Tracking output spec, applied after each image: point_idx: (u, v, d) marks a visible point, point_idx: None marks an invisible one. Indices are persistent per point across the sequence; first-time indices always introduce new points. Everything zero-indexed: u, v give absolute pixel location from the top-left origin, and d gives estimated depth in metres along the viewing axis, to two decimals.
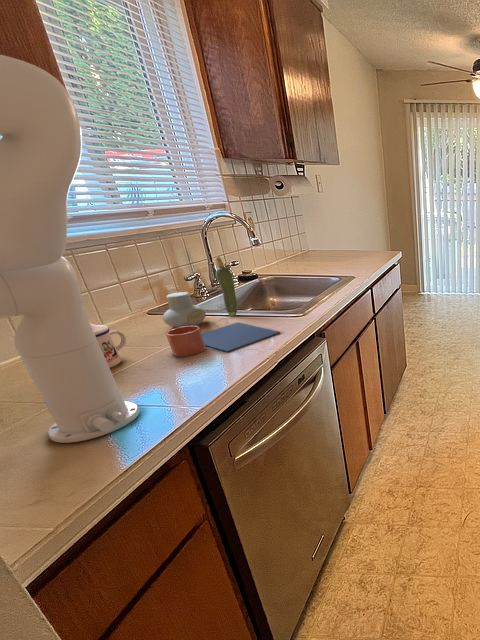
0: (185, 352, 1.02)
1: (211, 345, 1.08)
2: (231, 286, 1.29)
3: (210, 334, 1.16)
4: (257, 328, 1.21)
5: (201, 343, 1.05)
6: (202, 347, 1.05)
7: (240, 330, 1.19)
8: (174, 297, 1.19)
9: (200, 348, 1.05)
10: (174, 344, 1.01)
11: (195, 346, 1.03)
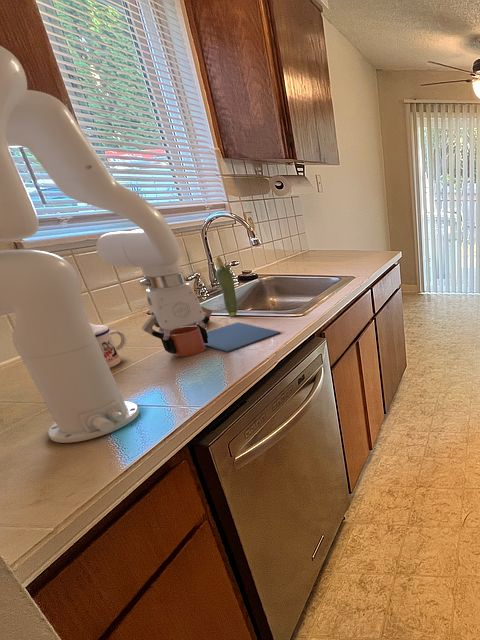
0: (185, 352, 1.02)
1: (211, 345, 1.08)
2: (231, 286, 1.29)
3: (210, 334, 1.16)
4: (257, 328, 1.21)
5: (201, 343, 1.05)
6: (202, 347, 1.05)
7: (240, 330, 1.19)
8: None
9: (200, 348, 1.05)
10: (174, 344, 1.01)
11: (195, 346, 1.03)
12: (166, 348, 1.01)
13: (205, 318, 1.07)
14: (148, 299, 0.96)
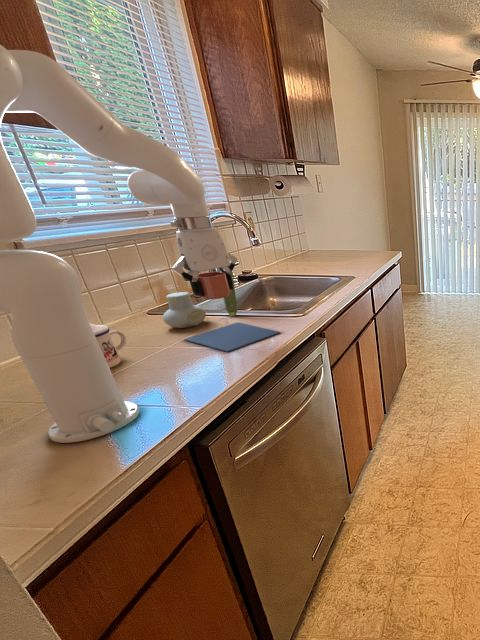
0: (212, 295, 1.06)
1: (211, 345, 1.08)
2: None
3: (210, 334, 1.16)
4: (257, 328, 1.21)
5: (227, 288, 1.09)
6: (228, 292, 1.09)
7: (240, 330, 1.19)
8: (174, 297, 1.19)
9: (226, 292, 1.08)
10: (202, 287, 1.05)
11: (222, 290, 1.07)
12: (194, 290, 1.04)
13: (230, 264, 1.11)
14: (178, 241, 1.00)
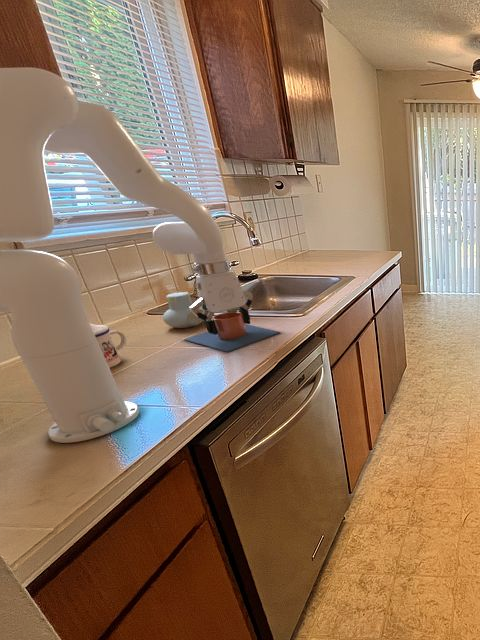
0: (230, 335, 1.12)
1: (211, 345, 1.08)
2: None
3: (210, 334, 1.16)
4: (257, 328, 1.21)
5: (243, 328, 1.15)
6: (244, 331, 1.15)
7: None
8: (174, 297, 1.19)
9: (243, 332, 1.14)
10: (220, 328, 1.11)
11: (238, 330, 1.13)
12: (208, 329, 1.09)
13: (248, 301, 1.17)
14: (198, 284, 1.06)
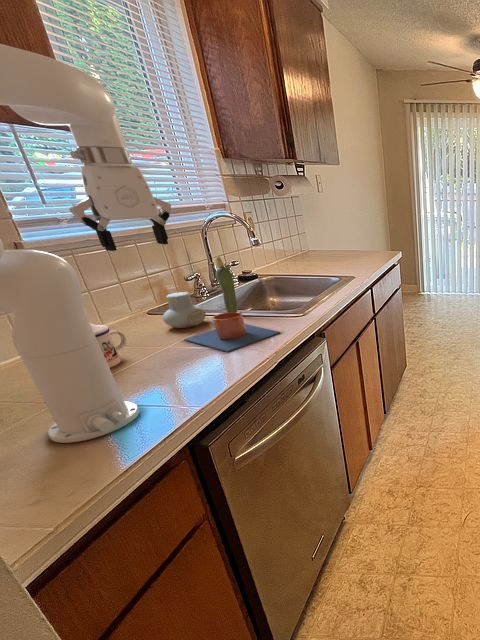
0: (230, 335, 1.12)
1: (211, 345, 1.08)
2: (231, 286, 1.29)
3: (210, 334, 1.16)
4: (257, 328, 1.21)
5: (243, 328, 1.15)
6: (244, 331, 1.15)
7: None
8: (174, 297, 1.19)
9: (243, 332, 1.14)
10: (220, 328, 1.11)
11: (238, 330, 1.13)
12: (103, 243, 0.81)
13: (164, 213, 0.89)
14: (83, 178, 0.78)
